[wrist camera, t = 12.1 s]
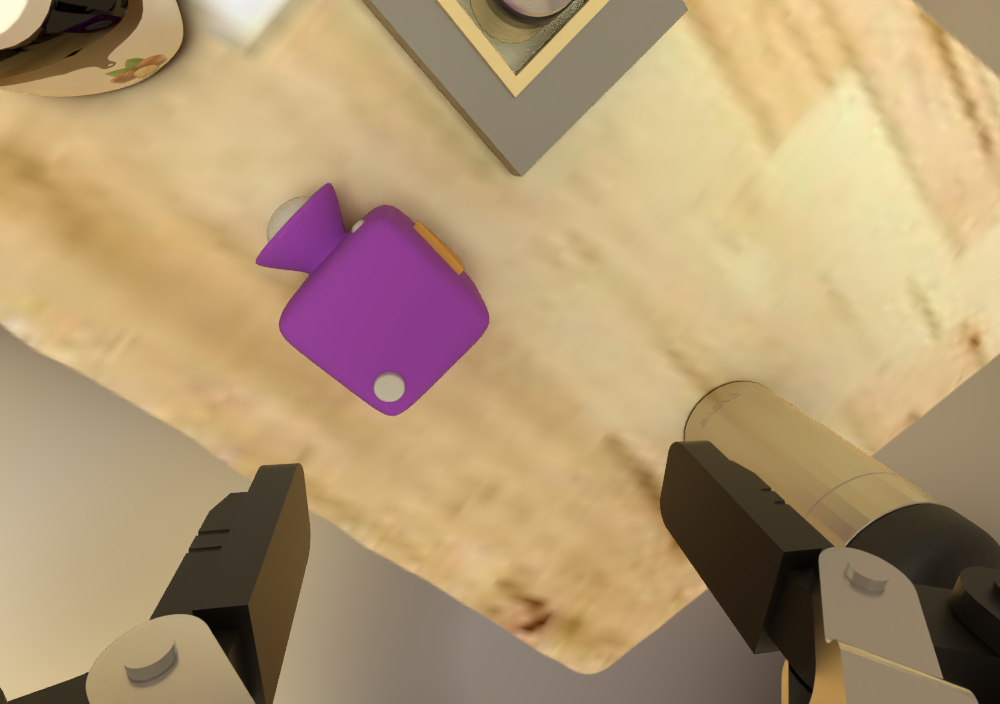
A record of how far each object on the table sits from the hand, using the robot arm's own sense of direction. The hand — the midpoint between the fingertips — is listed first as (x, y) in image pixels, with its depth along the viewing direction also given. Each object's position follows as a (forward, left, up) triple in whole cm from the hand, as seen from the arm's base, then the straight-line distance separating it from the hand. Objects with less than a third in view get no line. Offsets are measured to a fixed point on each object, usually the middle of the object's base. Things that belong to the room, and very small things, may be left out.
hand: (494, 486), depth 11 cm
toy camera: (+2, +4, -28) cm, 29 cm away
